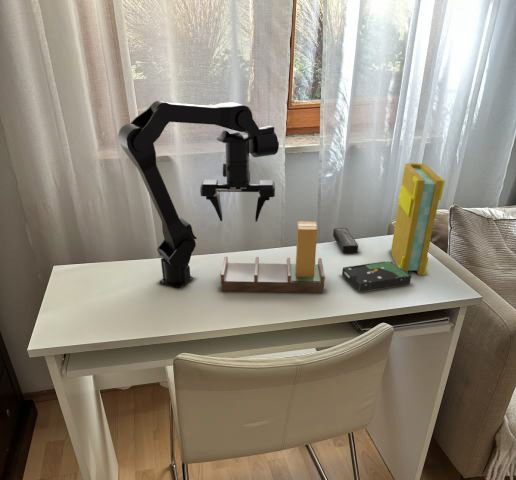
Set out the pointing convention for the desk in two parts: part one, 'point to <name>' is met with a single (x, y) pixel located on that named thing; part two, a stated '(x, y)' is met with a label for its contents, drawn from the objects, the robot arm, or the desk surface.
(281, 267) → the rack
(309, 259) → the package
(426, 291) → the desk surface
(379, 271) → the disk drive
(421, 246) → the book
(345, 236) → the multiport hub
